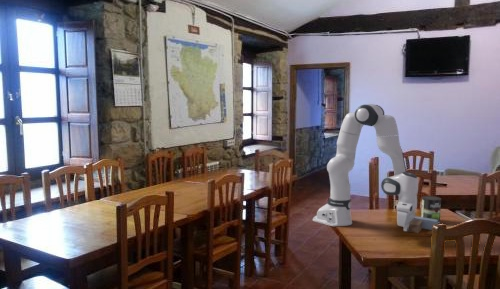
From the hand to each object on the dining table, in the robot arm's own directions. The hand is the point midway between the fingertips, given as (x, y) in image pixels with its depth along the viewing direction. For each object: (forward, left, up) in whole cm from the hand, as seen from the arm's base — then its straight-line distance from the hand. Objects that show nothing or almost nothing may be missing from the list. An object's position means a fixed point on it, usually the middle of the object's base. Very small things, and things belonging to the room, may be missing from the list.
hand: (405, 230), depth 204 cm
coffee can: (+5, +36, -4) cm, 37 cm away
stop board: (+1, +22, -4) cm, 22 cm away
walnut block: (+1, +15, -4) cm, 16 cm away
